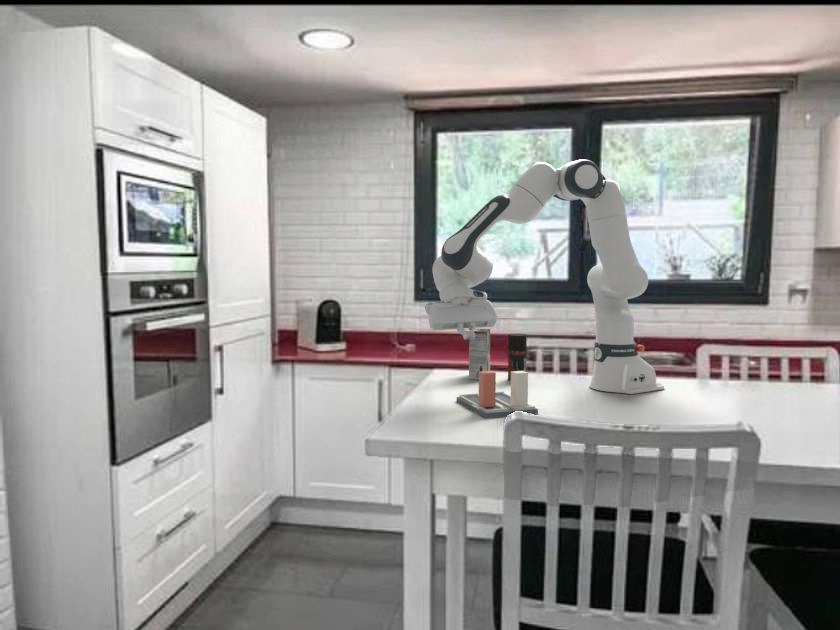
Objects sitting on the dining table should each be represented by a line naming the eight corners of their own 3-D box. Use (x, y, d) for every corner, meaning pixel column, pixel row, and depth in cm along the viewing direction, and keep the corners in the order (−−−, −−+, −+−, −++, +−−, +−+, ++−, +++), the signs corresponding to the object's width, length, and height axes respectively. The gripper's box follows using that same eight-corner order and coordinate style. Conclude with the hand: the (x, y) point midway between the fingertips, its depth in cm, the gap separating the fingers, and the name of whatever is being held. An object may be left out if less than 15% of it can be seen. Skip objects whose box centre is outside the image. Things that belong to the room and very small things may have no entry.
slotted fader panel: (504, 397, 186) (504, 391, 186) (538, 413, 167) (538, 406, 167) (456, 401, 181) (456, 394, 181) (485, 418, 162) (485, 411, 162)
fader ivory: (522, 403, 172) (522, 370, 171) (527, 406, 169) (528, 372, 168) (510, 404, 171) (510, 371, 170) (515, 407, 168) (516, 373, 167)
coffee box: (471, 374, 222) (472, 328, 221) (490, 374, 221) (490, 328, 219) (468, 379, 213) (468, 331, 212) (487, 379, 212) (488, 331, 210)
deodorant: (525, 381, 209) (525, 336, 208) (506, 380, 210) (507, 335, 209) (526, 378, 215) (527, 333, 213) (509, 377, 216) (509, 333, 215)
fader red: (490, 403, 172) (490, 370, 171) (495, 406, 169) (495, 372, 168) (478, 404, 171) (478, 371, 170) (483, 407, 168) (483, 373, 167)
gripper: (425, 295, 183) (437, 333, 175) (491, 292, 189) (505, 328, 181) (421, 309, 188) (432, 347, 179) (485, 306, 194) (499, 342, 186)
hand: (470, 338), depth 180 cm, fingers closed
